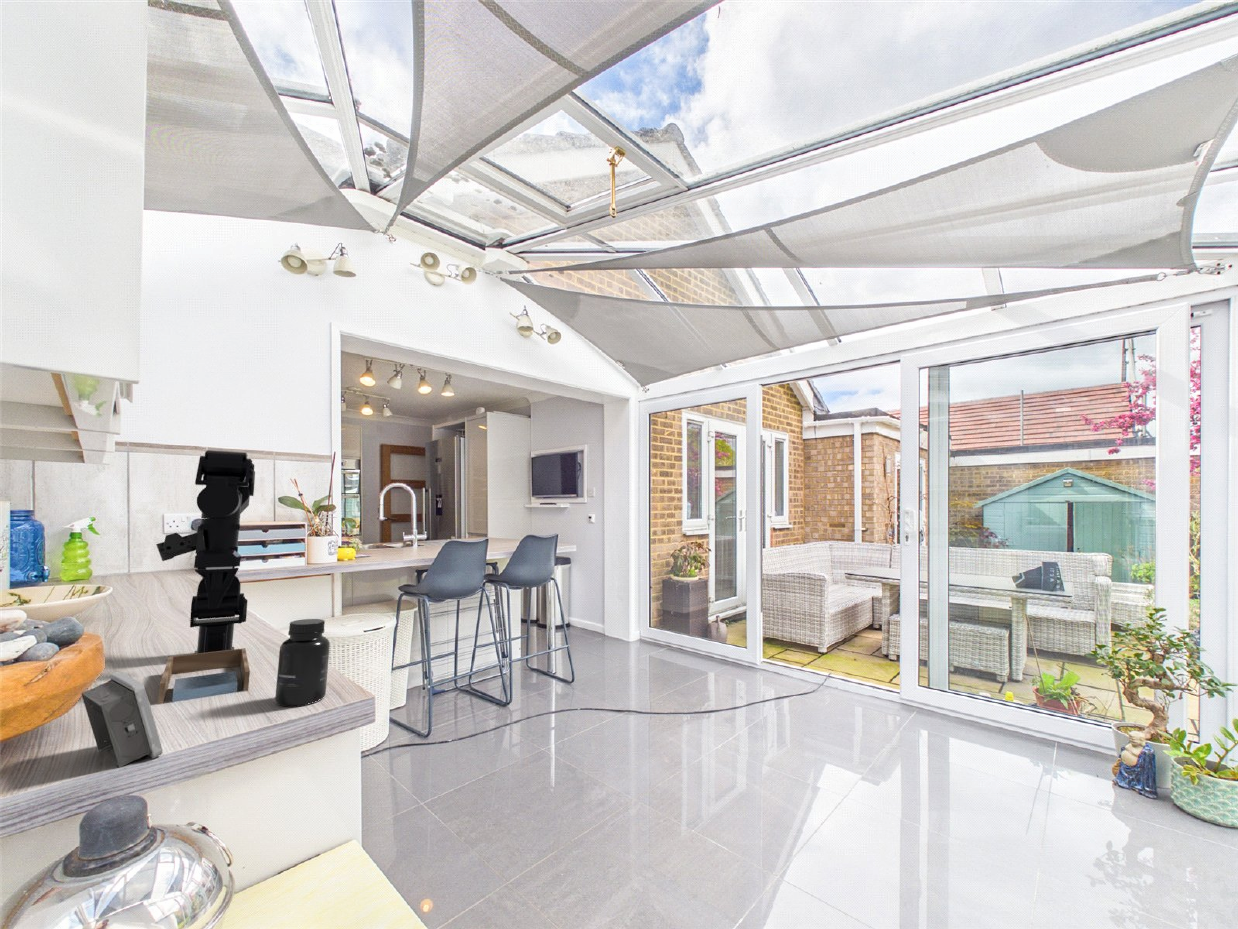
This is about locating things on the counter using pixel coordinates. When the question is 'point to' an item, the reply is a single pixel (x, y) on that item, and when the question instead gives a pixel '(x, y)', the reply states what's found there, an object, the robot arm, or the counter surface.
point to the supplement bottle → (303, 664)
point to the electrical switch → (122, 720)
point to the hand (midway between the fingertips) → (212, 606)
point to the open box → (204, 666)
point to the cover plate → (204, 686)
